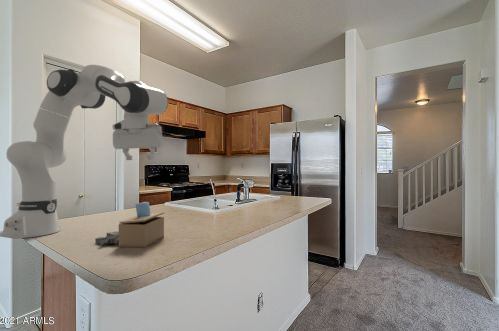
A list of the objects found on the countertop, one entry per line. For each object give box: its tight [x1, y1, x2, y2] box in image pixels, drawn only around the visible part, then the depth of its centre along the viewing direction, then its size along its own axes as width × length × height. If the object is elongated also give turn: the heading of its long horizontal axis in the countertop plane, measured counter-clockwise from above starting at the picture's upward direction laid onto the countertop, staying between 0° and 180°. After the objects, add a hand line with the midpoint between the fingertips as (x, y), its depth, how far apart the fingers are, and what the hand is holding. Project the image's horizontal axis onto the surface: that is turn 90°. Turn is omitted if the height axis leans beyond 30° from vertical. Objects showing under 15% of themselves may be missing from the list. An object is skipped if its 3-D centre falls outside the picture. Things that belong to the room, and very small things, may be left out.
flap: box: [118, 211, 165, 224], centre depth 96 cm, size 10×14×1 cm, turn 172°
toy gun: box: [94, 230, 119, 246], centre depth 102 cm, size 25×3×15 cm
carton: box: [118, 216, 165, 249], centre depth 96 cm, size 10×14×8 cm
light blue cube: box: [135, 201, 151, 217], centre depth 97 cm, size 5×5×5 cm
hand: (139, 159), depth 100 cm, fingers open, 8 cm apart
